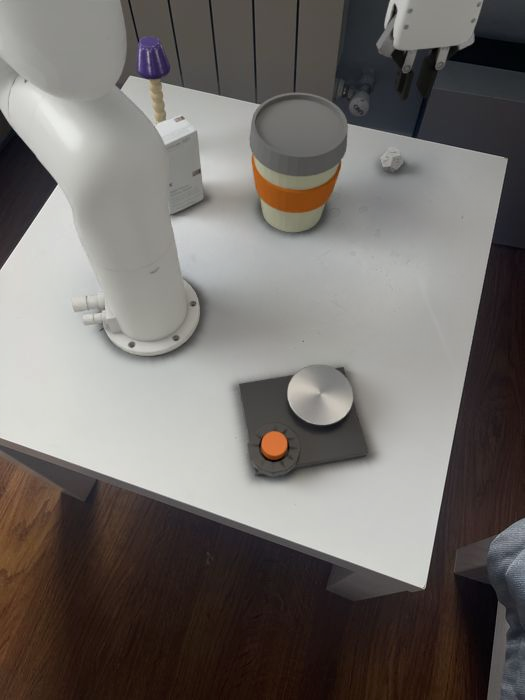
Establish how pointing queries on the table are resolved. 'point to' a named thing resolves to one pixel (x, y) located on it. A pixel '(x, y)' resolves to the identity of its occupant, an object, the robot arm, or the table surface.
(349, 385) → the weighing pan
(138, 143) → the robot arm
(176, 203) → the cosmetic box
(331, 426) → the scale
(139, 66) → the toy lamp
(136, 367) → the table surface
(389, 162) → the game die
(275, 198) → the reusable coffee cup
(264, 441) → the tare button
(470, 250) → the table surface
